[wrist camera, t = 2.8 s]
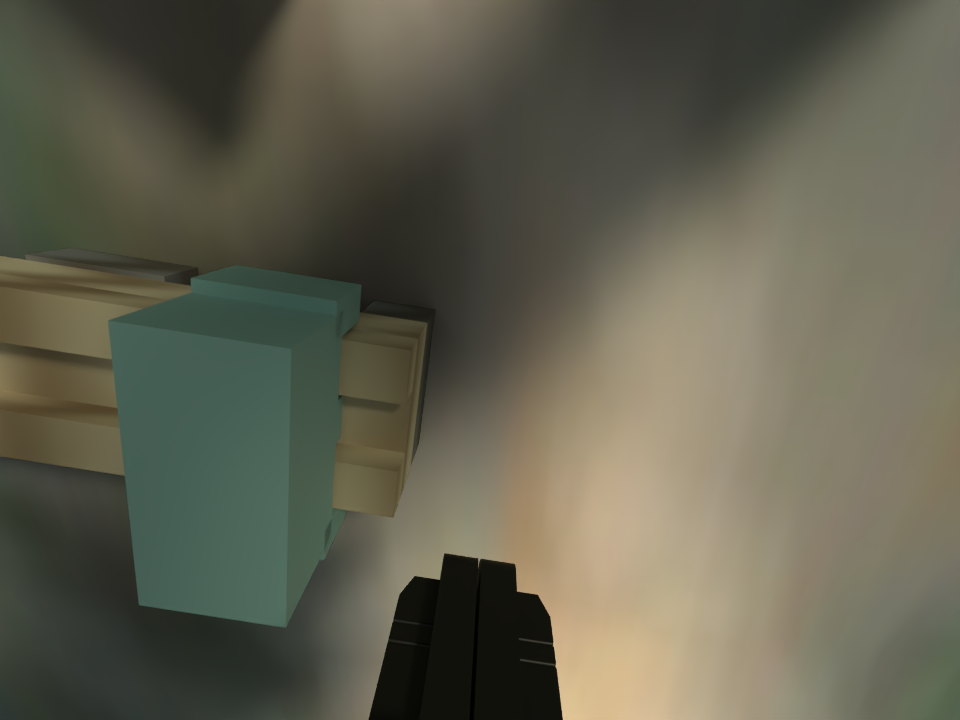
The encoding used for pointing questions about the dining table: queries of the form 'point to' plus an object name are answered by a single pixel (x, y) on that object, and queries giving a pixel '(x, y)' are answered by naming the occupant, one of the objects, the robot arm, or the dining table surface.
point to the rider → (232, 439)
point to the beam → (91, 388)
